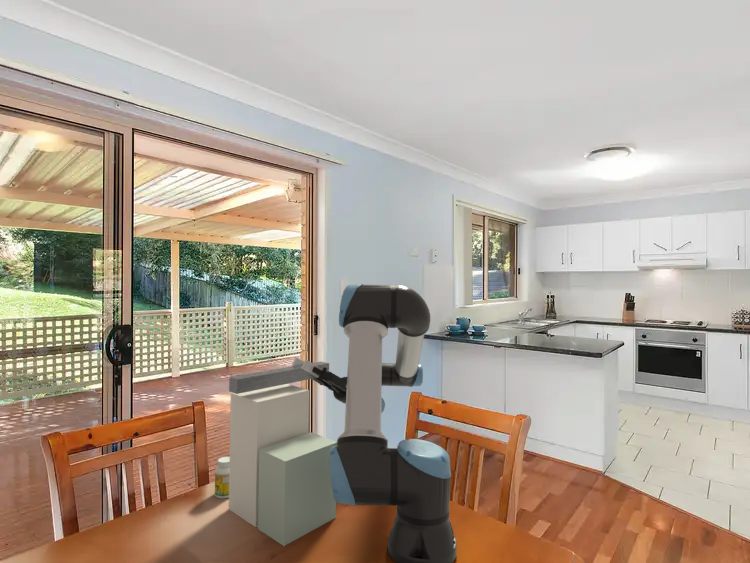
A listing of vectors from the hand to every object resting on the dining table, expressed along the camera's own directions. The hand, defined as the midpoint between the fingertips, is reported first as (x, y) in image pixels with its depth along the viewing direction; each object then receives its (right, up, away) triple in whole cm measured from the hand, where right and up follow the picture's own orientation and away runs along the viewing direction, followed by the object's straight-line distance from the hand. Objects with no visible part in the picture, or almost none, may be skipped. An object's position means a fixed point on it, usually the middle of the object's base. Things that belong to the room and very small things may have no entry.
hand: (299, 363), depth 123 cm
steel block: (-4, -4, -4) cm, 7 cm away
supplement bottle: (-20, -36, -1) cm, 41 cm away
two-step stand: (-3, -36, -10) cm, 38 cm away
